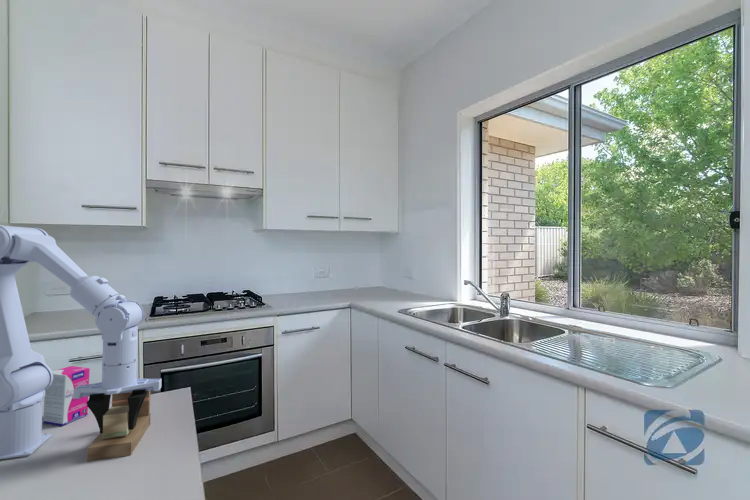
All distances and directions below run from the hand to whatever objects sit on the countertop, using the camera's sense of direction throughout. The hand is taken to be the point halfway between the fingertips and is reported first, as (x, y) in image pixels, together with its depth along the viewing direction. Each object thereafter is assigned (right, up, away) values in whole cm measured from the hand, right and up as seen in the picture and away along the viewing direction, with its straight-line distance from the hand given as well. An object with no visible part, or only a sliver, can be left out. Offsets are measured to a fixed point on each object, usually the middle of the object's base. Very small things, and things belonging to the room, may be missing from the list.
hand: (118, 429), depth 71 cm
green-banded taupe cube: (0, -1, 0) cm, 1 cm away
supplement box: (-20, -3, +11) cm, 23 cm away
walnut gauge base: (-1, -3, +2) cm, 4 cm away
